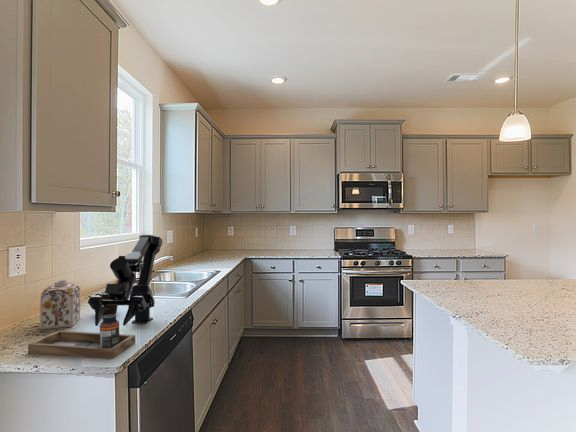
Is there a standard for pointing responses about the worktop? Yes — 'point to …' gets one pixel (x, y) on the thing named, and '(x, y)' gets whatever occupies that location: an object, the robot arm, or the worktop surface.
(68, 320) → the decorative jar
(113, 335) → the supplement bottle
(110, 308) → the coffee mug
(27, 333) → the worktop surface
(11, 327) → the worktop surface
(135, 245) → the robot arm
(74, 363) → the worktop surface
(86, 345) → the wooden serving tray
